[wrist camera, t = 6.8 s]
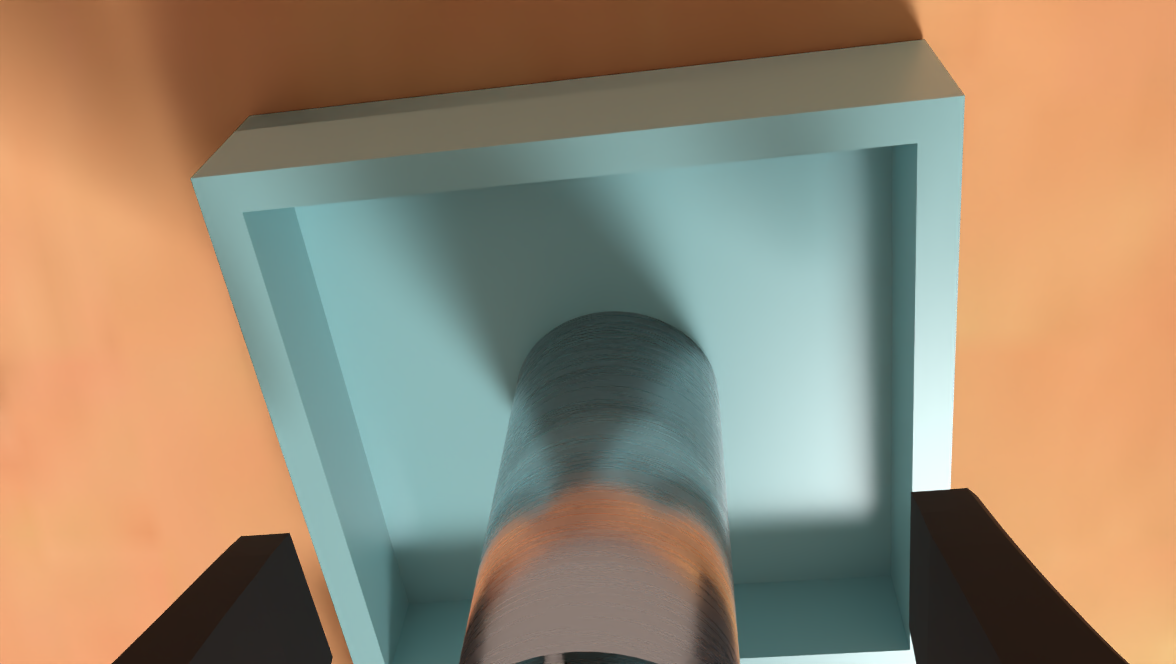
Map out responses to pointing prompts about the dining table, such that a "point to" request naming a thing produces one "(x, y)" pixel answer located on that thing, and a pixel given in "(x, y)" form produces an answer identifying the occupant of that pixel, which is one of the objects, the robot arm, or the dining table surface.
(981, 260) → the dining table surface
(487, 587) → the pin
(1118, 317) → the dining table surface
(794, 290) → the tray
